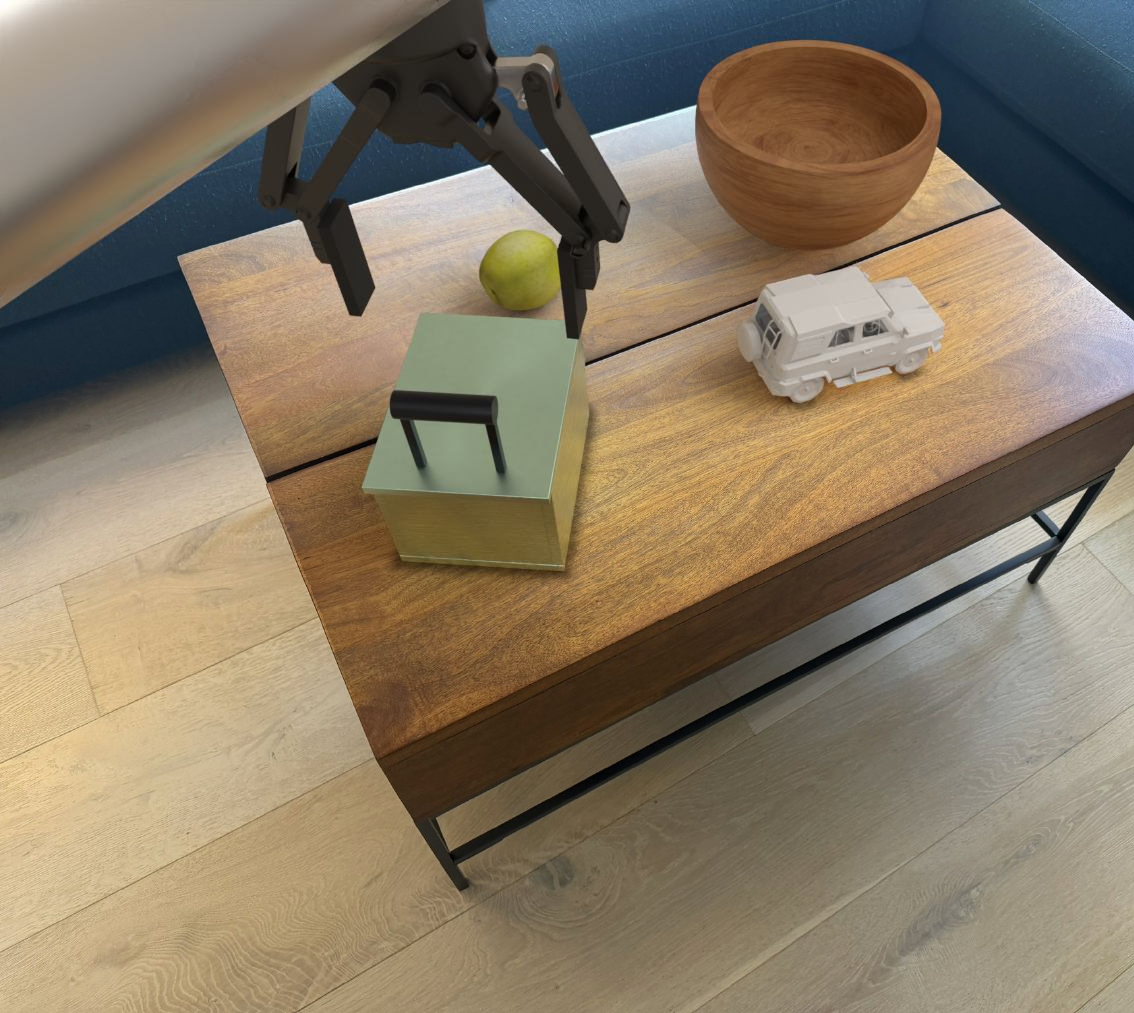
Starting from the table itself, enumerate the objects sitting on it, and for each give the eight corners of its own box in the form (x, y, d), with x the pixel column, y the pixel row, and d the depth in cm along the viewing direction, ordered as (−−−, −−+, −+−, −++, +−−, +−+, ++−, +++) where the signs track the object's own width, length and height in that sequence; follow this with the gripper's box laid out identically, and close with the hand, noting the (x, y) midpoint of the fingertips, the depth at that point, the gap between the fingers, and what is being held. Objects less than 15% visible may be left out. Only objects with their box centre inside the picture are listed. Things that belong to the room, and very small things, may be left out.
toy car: (947, 372, 90) (976, 294, 81) (764, 424, 85) (775, 347, 77) (897, 307, 95) (920, 228, 87) (723, 352, 91) (730, 273, 83)
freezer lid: (549, 505, 66) (537, 431, 59) (364, 493, 66) (330, 419, 59) (581, 328, 77) (574, 248, 70) (422, 319, 77) (399, 239, 70)
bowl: (675, 170, 109) (677, 46, 97) (873, 154, 111) (900, 31, 99) (713, 309, 94) (721, 184, 82) (939, 287, 97) (980, 163, 85)
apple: (585, 300, 95) (580, 238, 88) (515, 340, 91) (504, 278, 85) (541, 264, 98) (533, 201, 92) (472, 301, 95) (458, 238, 88)
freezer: (564, 571, 75) (551, 494, 66) (401, 561, 76) (367, 483, 67) (589, 413, 86) (581, 328, 77) (446, 405, 86) (422, 319, 77)
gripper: (684, -82, 40) (676, 292, 57) (146, -121, 41) (297, 254, 58) (660, -2, 35) (660, 377, 52) (60, -49, 37) (251, 333, 54)
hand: (469, 313), depth 55 cm, fingers open, 13 cm apart
